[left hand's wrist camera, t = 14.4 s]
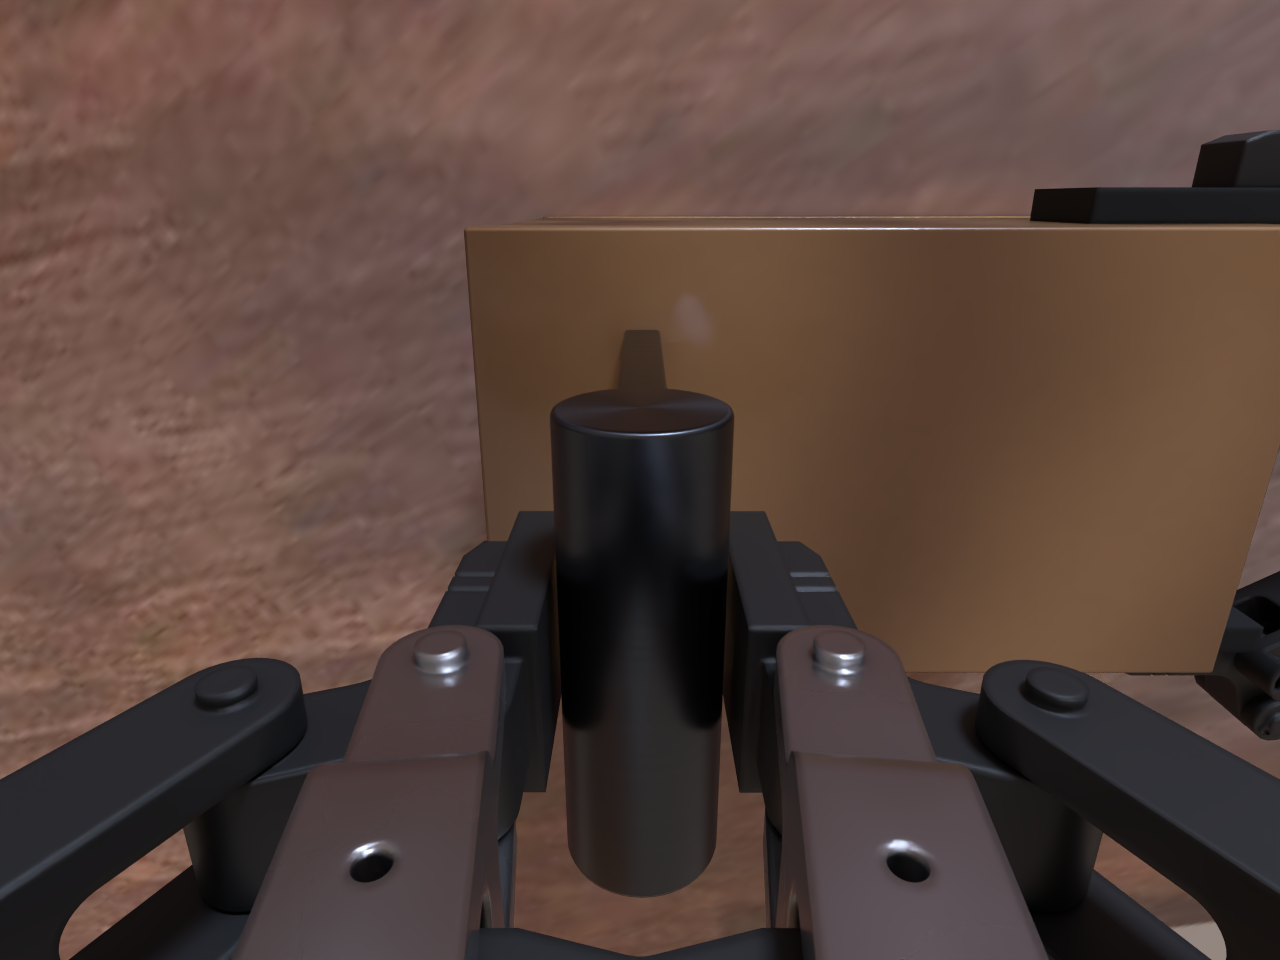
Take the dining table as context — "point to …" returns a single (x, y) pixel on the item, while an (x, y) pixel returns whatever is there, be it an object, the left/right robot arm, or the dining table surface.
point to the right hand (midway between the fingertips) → (1021, 429)
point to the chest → (801, 221)
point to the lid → (864, 461)
